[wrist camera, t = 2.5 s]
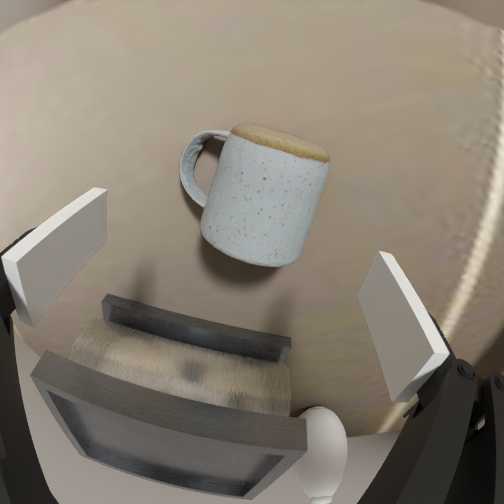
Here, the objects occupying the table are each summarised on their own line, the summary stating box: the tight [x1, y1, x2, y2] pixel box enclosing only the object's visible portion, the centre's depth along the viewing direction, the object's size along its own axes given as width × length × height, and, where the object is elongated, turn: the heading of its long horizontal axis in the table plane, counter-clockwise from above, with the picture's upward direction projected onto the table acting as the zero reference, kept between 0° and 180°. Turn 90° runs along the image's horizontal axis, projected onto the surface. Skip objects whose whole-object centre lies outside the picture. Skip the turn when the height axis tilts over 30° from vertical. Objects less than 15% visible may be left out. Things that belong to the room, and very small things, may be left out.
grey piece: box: [30, 294, 308, 500], centre depth 27 cm, size 21×17×15 cm
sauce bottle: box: [292, 407, 347, 504], centre depth 31 cm, size 8×8×18 cm
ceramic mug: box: [179, 123, 330, 267], centre depth 20 cm, size 11×8×8 cm
